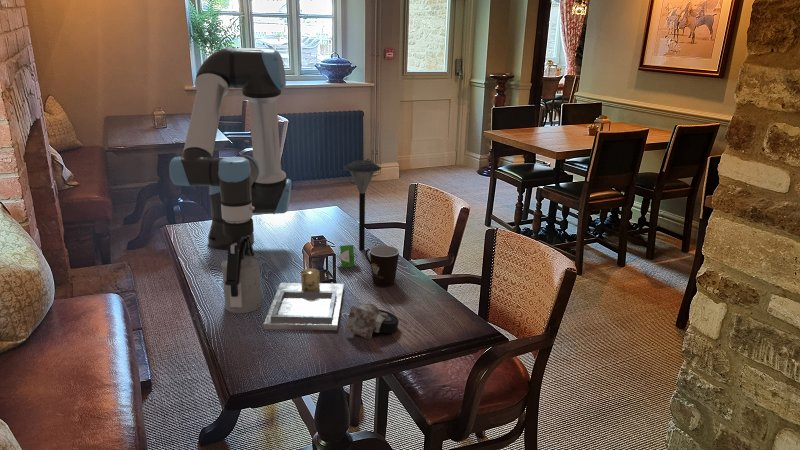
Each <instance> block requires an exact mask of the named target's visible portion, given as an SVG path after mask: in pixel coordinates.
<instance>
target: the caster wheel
mask: <svg viewBox="0 0 800 450" xmlns="http://www.w3.org/2000/svg"><path fill="white" fill-rule="evenodd" d="M399 322H400V319H399V318H398V317H397V316H396V315H395V314H394V313H391V312H389V311H387V310H382V309H379V308H378V307H377V306H376V305H375V304H373V303H364V304H361V305H359V306H358V307H357V306H356V305H352V306H351V308H350V311H349V315H348V318H347V322H346V326H345V332H346V331H347V332H349V333H352V334H353V335H357V336H359V337H362V338H365V339H368V340H371V339H372V335H373V333H382V334H393V333H395V332H397V329H398V326H399V324H400V323H399Z"/></svg>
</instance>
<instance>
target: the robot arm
mask: <svg viewBox="0 0 800 450" xmlns="http://www.w3.org/2000/svg"><path fill="white" fill-rule="evenodd" d="M286 85H287V81H286V72H285V65H284V62H283V57H282V56H281V53H280V52H279V51H278V50H277V49H269V48H264V47H263V48H262V47H261V48H257V47H256V48H255V47H254V48H250V47H249V48H248V47H245V48H244V47H243V48H242V47H239V48H238V47H237V48H236V47H226V48H225V47H224V48H221V49H219V50H216V51H215V52H213V53H212V54H210V56H209V57H207V58H206V59H205V60H204V61H203V63H202V64H201V65H200V67H199V69H198V71H197V72H196V75H195V80H194V86H195V88H196V92H195V97H194V101H193V107H192V111H191V115H190V120H189V123H188V129H187V132H186V137H185V142H184V147H183V151H182V156H174V157H173V158H171V160H170V162H169V168H168V169H169V171H168V172H169V177H170V180H171V182H172V184H173V185H175V186H184V187H185V186H186V187H209V192H208V195H209V200H210V201H209V202H210V203H209V204H210V210H211V211H210V212H211V224H210V229H209V233H208V236H207V243H208V245H209V246H210V247H212V248H214V249H219V250H227V258H228V259H227V258H226V259H227V277H226V281H225V284H226V285H229V291H230V305H231V307H242V296H241V283H239V279H240V271H241V262H242V259H243V258H244V256H253V257H255V252H254V248H253V243H254V242H255V235H254V231H255V229H254V219H253V216H254V215H253V214H258V215H259V214H260V215H261V214H263V215H264V214H266V215H270V214H271V215H278V214H286V213H287V212H288V210H289V206H290V202H291V192H292V180H291V179H289V178H287V174H286V172H285V171H284V170H282V164H281V163H282V161H281V149H280V135H279V131H280V130H279V118H278V117H279V116H278V104H277V100H278V99H279V97H281V95H282V91H283V90H285V89H286ZM230 89H241V91H242V92H241V93H242V96H243V97H244V98H246V100H247V101H248V114H249V124H250V134H251V135H250V136H251V145H252V146H251V147H252V156H251V155H248V154H243V155H239V156H228V157H213V154H214V150H215V143H216V140H217V135H218V134H217V133H218V128H219V123H220V119H221V114H222V113H221V112H222V108H223V103H224V97H226V96H227V95H228V93H229V92H230V91H229V90H230Z"/></svg>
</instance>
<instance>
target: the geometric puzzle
mask: <svg viewBox="0 0 800 450" xmlns="http://www.w3.org/2000/svg"><path fill="white" fill-rule="evenodd" d="M339 251H340V252H337V255H335V258H336V259H339V260H337V261H338V263H339V265H340V268H348V267H349V268H350V267H351V268H352V267H356V263H357V260H355V259H358V257H359V256H360V255H359V253H357V251H356V248H355V246H354V244H348V245H347V244H346V245H339ZM354 251H355V252H354ZM340 262H341V263H340Z"/></svg>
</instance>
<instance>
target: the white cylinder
mask: <svg viewBox="0 0 800 450" xmlns="http://www.w3.org/2000/svg"><path fill="white" fill-rule="evenodd" d="M227 259H228V257H227V258H225V259H224V260H223V261H222V262H221V267H222V271H221V272H222V280H223V281H222V283H223V294H224V308H225V310H226V311H227V312H229V313H233V314H245V313H252V312H254V311H256V310H258V309H260V307H262V304H263V303H262V292H261V291H262V290H261V289H262V287H261V271H260V259H259V258H258V257H256V256H244V258H243V259H242V262H241V271H240V279H239V283H241V296H242V307H231V305H230V291H229V285H226V284H225V281H226V277H227Z"/></svg>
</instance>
